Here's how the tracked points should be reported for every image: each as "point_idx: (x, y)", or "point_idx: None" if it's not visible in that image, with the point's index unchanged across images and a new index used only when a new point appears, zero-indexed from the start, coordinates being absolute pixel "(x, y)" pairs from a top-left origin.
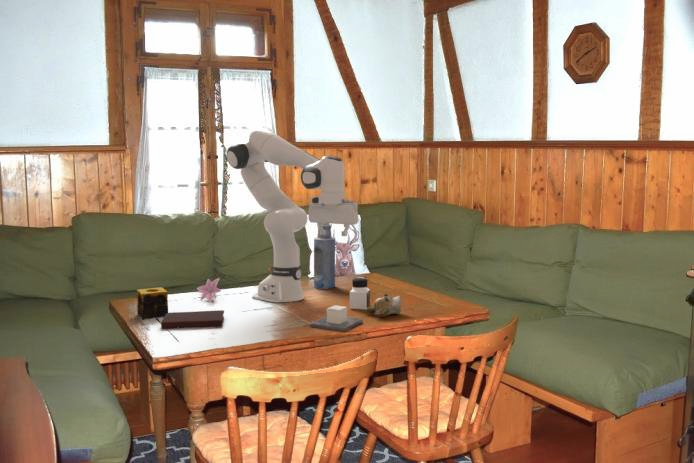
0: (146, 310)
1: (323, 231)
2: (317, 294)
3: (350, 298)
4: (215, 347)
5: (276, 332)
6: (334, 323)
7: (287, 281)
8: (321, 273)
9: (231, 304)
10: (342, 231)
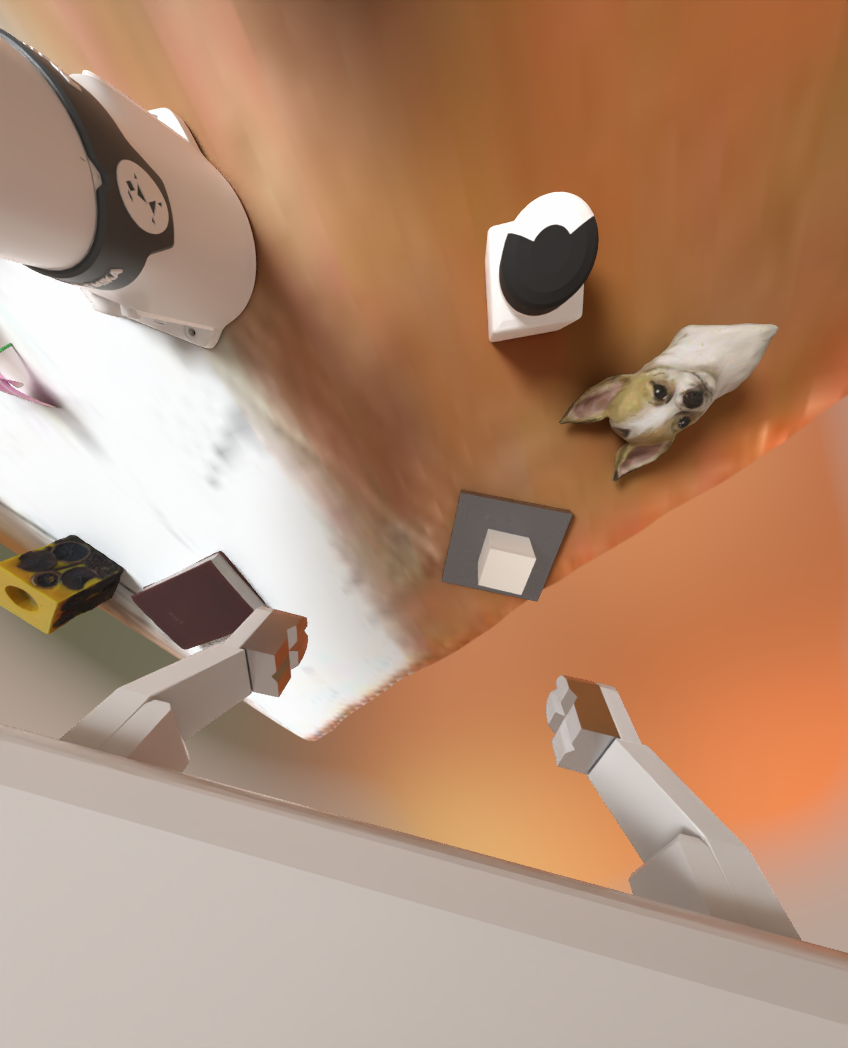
0: (94, 604)
1: (286, 677)
2: (243, 63)
3: (495, 337)
4: (345, 704)
5: (392, 625)
6: None
7: (159, 285)
8: None
9: (124, 418)
10: (571, 763)
